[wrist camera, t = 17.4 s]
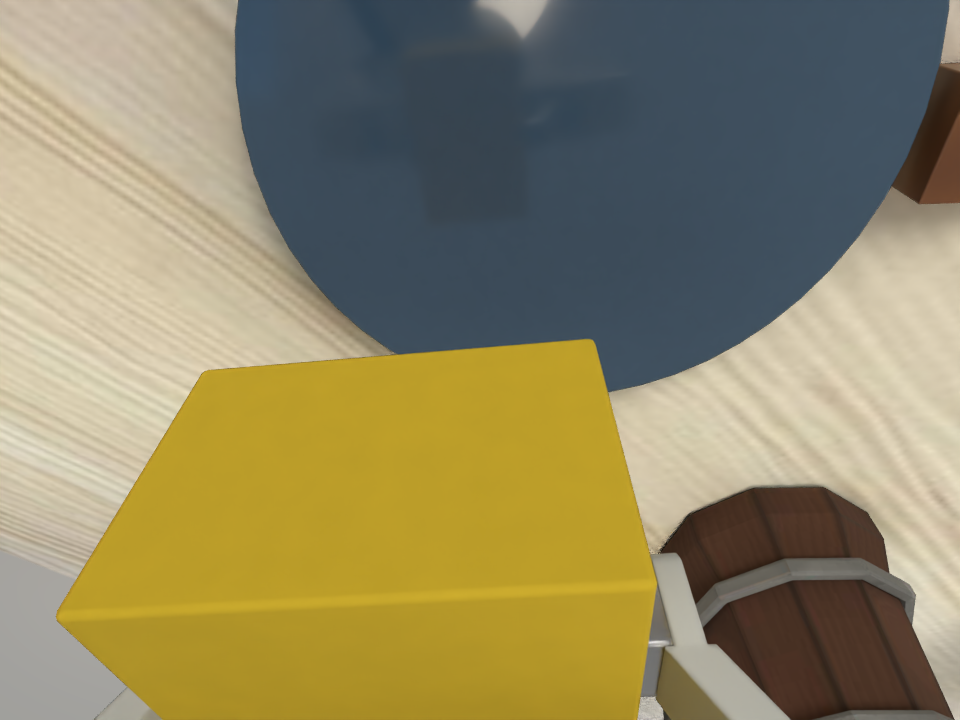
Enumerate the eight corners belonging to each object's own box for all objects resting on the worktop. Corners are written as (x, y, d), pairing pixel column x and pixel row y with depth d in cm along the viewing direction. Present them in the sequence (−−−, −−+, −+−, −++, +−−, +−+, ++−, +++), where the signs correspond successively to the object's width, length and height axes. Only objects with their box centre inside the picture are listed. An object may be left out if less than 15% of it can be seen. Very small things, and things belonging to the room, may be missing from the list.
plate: (126, -286, 14) (93, -305, 13) (1069, -425, 13) (1128, -459, 12) (339, 391, 28) (332, 412, 26) (816, 358, 26) (832, 379, 25)
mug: (770, 454, 30) (958, 810, 18) (909, 534, 34) (1139, 870, 22) (577, 593, 38) (618, 902, 26) (707, 644, 42) (796, 934, 30)
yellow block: (201, 368, 9) (47, 618, 6) (594, 335, 9) (660, 585, 5) (345, 650, 14) (307, 857, 11) (588, 638, 14) (619, 849, 11)
